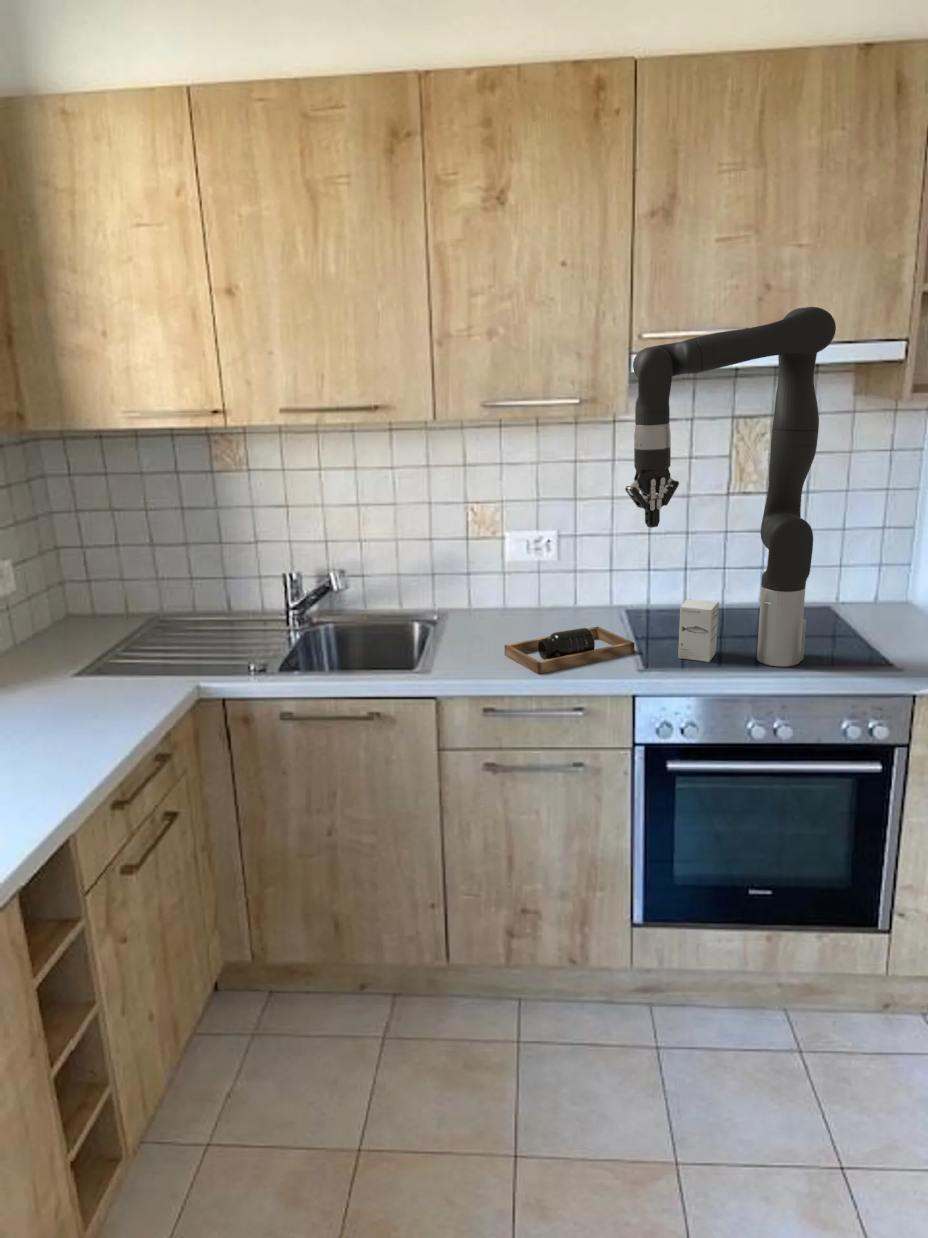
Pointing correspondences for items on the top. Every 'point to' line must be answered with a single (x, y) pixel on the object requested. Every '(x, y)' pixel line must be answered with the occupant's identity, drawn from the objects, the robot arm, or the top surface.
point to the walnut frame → (618, 649)
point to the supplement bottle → (566, 643)
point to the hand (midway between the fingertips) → (652, 526)
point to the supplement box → (698, 629)
